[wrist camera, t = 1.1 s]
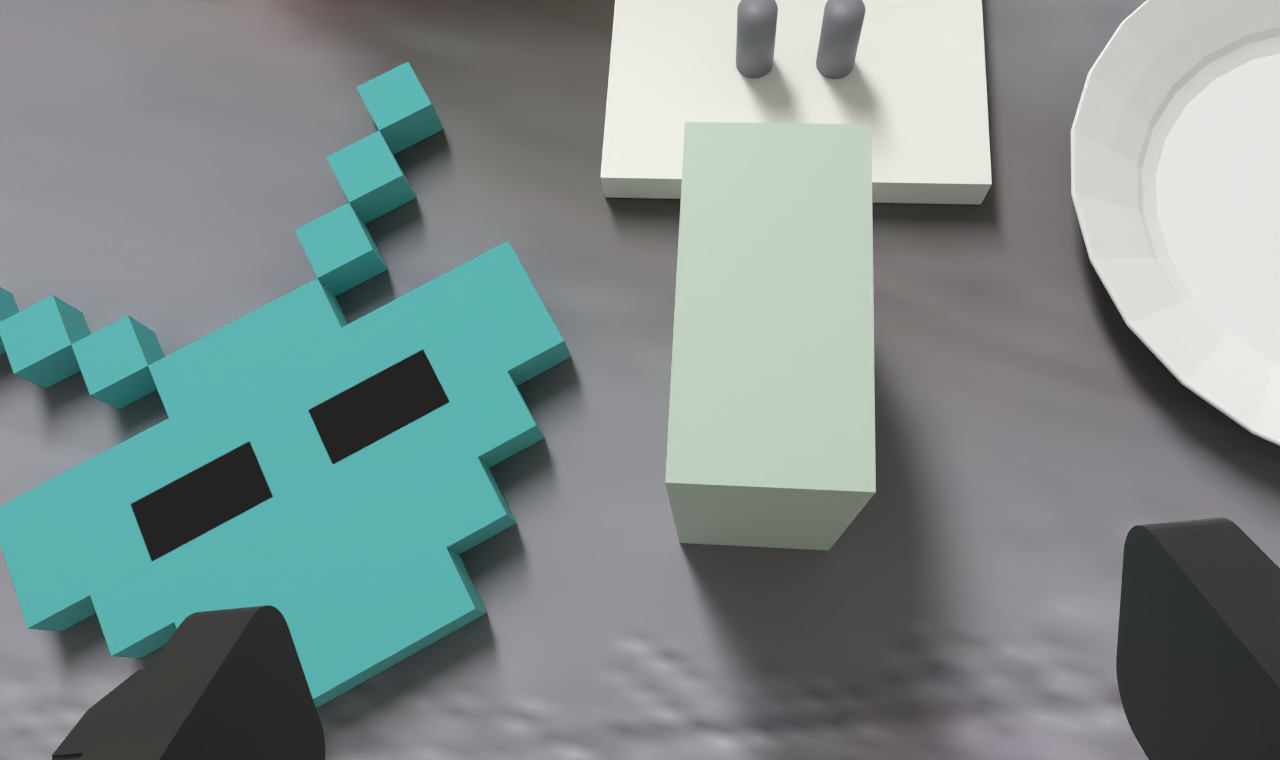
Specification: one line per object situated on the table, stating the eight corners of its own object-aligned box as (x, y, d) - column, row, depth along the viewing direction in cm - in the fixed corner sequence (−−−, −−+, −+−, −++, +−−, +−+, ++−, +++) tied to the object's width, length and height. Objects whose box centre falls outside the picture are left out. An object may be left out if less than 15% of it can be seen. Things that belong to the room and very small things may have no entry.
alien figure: (-33, 325, 38) (130, 815, 32) (-77, 303, 36) (90, 823, 30) (423, 94, 40) (660, 518, 34) (407, 61, 38) (657, 507, 32)
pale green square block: (679, 542, 33) (665, 483, 23) (692, 272, 36) (685, 122, 26) (828, 550, 32) (875, 492, 23) (829, 276, 35) (871, 124, 26)
